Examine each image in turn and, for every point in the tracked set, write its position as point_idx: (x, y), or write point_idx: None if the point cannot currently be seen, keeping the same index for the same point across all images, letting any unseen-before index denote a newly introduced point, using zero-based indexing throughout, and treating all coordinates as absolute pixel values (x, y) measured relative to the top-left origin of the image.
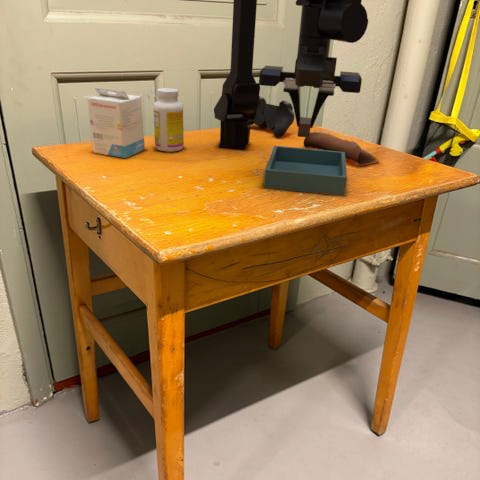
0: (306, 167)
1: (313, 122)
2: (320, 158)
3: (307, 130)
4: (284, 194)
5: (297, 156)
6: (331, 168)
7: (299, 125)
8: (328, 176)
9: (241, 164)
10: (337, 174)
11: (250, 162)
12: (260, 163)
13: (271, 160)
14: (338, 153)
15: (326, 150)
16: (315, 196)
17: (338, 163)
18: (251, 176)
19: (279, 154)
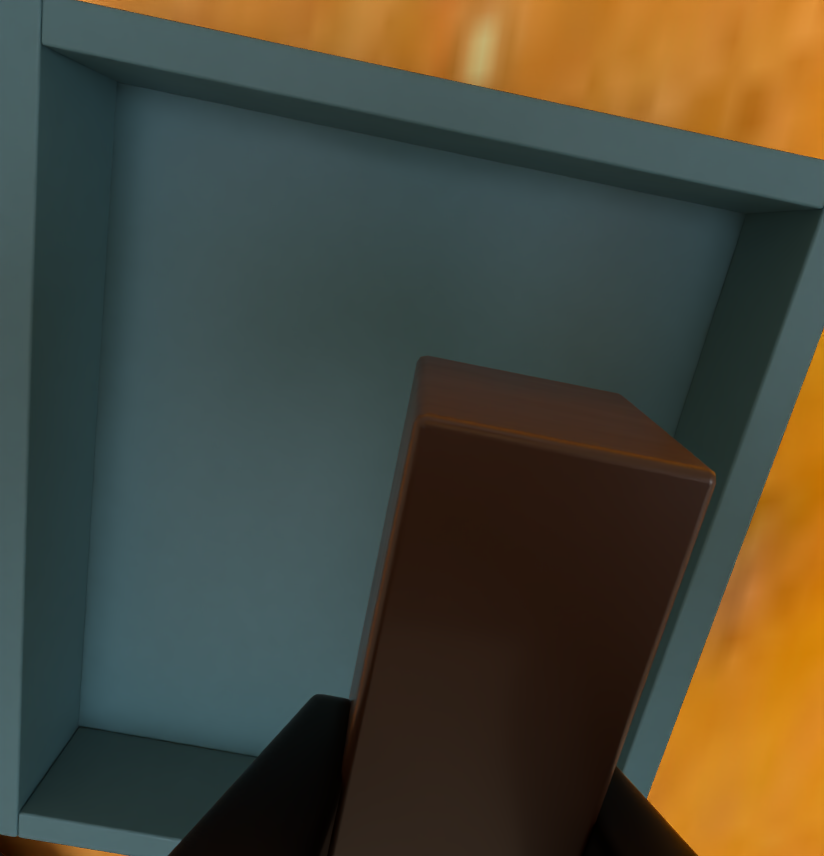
0: (340, 673)
1: (286, 749)
2: (212, 788)
3: (467, 391)
4: (628, 29)
5: None
6: (143, 669)
7: (685, 452)
8: (202, 28)
9: (819, 741)
10: (107, 534)
11: (739, 789)
12: (667, 775)
13: (729, 509)
14: (45, 807)
15: (146, 852)
16: (354, 2)
17: (76, 742)
18: (810, 479)
19: None
